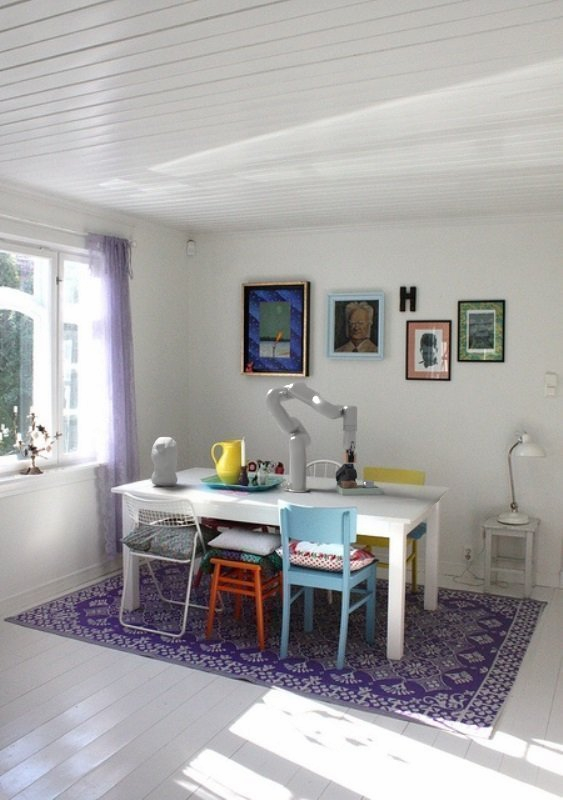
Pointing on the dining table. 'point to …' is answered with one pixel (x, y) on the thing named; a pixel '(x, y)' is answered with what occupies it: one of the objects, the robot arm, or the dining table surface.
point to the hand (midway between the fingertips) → (349, 461)
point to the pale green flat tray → (359, 490)
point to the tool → (346, 473)
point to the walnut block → (348, 485)
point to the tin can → (368, 484)
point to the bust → (164, 462)
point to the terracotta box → (345, 457)
